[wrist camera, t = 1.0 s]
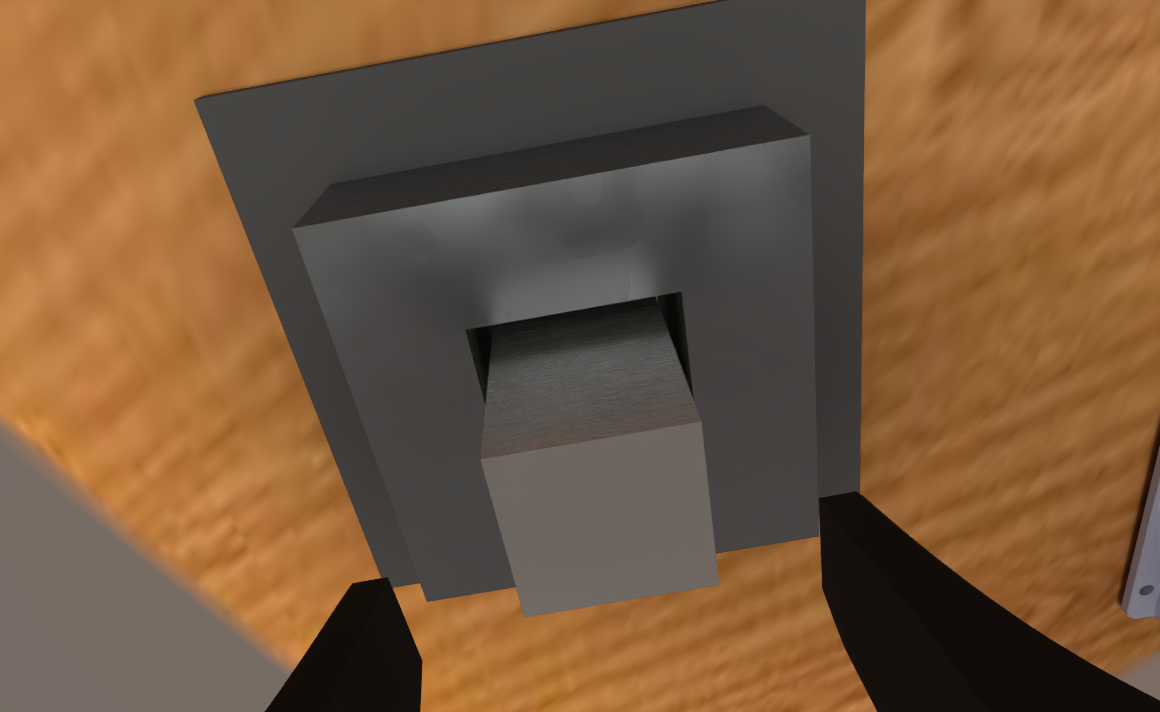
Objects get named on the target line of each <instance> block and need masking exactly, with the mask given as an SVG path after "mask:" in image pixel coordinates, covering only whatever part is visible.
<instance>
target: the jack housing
mask: <svg viewBox="0 0 1160 712" xmlns="http://www.w3.org/2000/svg"><path fill="white" fill-rule="evenodd" d="M292 230H293V233H294V236H295V238H296V241H297V244H298V247H299V249H300V252H301V255H302V258H303V261H304V263H305V266H306V269H307V272H308V274H309V277H310V280H311V283H312V285H313V288H314V291H315V294H316V296H317V299H318V302H319V305H320V307H321V310H322V313H323V316H324V319H325V321H326V324H327V327H328V330H329V332H330V335H331V338H332V341H333V343H334V346H335V349H336V352H337V354H338V357H339V360H340V363H341V366H342V368H343V371H344V374H345V377H346V379H347V382H348V385H349V388H350V390H351V393H352V396H353V399H354V401H355V404H356V407H357V410H358V412H359V415H360V418H361V421H362V424H363V426H364V429H365V432H366V435H367V437H368V440H369V443H370V446H371V448H372V451H373V454H374V457H375V459H376V462H377V465H378V468H379V470H380V473H381V476H382V479H383V482H384V484H385V487H386V490H387V493H388V495H389V498H390V501H391V504H392V506H393V509H394V512H395V515H396V517H397V520H398V523H399V526H400V528H401V531H402V534H403V537H404V540H405V542H406V545H407V548H408V551H409V553H410V556H411V559H412V562H413V564H414V567H415V570H416V573H417V575H418V578H419V581H420V584H421V587H422V589H423V592H424V595H425V598H426V600H427V602H429V601H435V600H441V599H447V598H453V597H459V596H465V595H471V594H477V593H483V592H489V591H495V590H501V589H507V588H513V587H516V585H515V581H514V578H513V574H512V570H511V567H510V563H509V560H508V556H507V553H506V549H505V546H504V542H503V538H502V535H501V531H500V528H499V524H498V521H497V517H496V514H495V510H494V506H493V503H492V499H491V496H490V492H489V489H488V485H487V482H486V478H485V474H484V471H483V467H482V464H481V460H480V458H481V448H482V437H483V427H484V417H485V406H486V396H487V386H488V375H489V365H490V355H491V345H492V340H491V336H490V332H489V328H488V326H489V325H495V324H501V323H506V322H512V321H518V320H523V319H529V318H535V317H540V316H546V315H552V314H557V313H563V312H569V311H574V310H580V309H586V308H591V307H597V306H603V305H608V304H614V303H620V302H625V301H631V300H637V299H642V298H648V297H654V296H659V295H665V297H666V306H667V314H668V322H669V330H670V337H671V340H672V343H673V346H674V348H675V351H676V354H677V356H678V359H679V362H680V365H681V367H682V370H683V373H684V375H685V378H686V381H687V384H688V386H689V389H690V392H691V394H692V397H693V400H694V403H695V405H696V408H697V411H698V413H699V416H700V419H701V422H702V431H703V440H704V450H705V459H706V468H707V478H708V487H709V496H710V506H711V515H712V524H713V534H714V543H715V552H716V553H722V552H728V551H734V550H740V549H746V548H752V547H758V546H764V545H770V544H776V543H782V542H788V541H794V540H800V539H806V538H812V537H818V536H819V524H818V477H817V430H816V383H815V335H814V288H813V241H812V194H811V146H810V134H808V133H807V132H805V131H804V130H802V129H800V128H799V127H797V126H796V125H794V124H793V123H791V122H790V121H788V120H787V119H785V118H783V117H782V116H780V115H779V114H777V113H776V112H774V111H773V110H771V109H769V108H768V107H766V106H765V105H762V106H756V107H751V108H745V109H740V110H734V111H729V112H723V113H718V114H712V115H707V116H701V117H696V118H690V119H685V120H679V121H674V122H668V123H663V124H658V125H652V126H647V127H641V128H636V129H630V130H625V131H619V132H614V133H608V134H603V135H597V136H592V137H586V138H581V139H575V140H570V141H564V142H559V143H553V144H548V145H542V146H537V147H531V148H526V149H520V150H515V151H509V152H504V153H499V154H493V155H488V156H482V157H477V158H471V159H466V160H460V161H455V162H449V163H444V164H438V165H433V166H427V167H422V168H416V169H411V170H405V171H400V172H394V173H389V174H383V175H378V176H372V177H367V178H361V179H356V180H350V181H345V182H340V183H334V184H330V185H329V186H328V188H327V189H326V190H325V191H324V192H323V193H322V194H321V196H320V197H319V198H318V199H317V200H316V201H315V203H314V204H313V205H312V206H311V207H310V208H309V210H308V211H307V212H306V213H305V214H304V215H303V216H302V218H301V219H300V220H299V221H298V222H297V223H296V225H295V226H294V227H293V228H292Z"/></svg>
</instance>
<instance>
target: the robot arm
mask: <svg viewBox="0 0 1160 712" xmlns="http://www.w3.org/2000/svg"><path fill="white" fill-rule="evenodd" d="M819 514H820V539H821V565H822V589H823V592H824V594H825V597H826V600H827V603H828V605H829V608H830V611H831V613H832V616H833V619H834V622H835V624H836V627H837V629H838V632H839V634H840V637H841V640H842V642H843V645H844V647H845V649H846V651H847V653H848V655H849V657H850V659H851V661H852V663H853V665H854V667H855V669H856V671H857V673H858V675H859V677H860V679H861V681H862V683H863V685H864V687H865V689H866V691H867V693H868V695H869V696H870V698H871V700H872V702H873V704H874V706H875V708H876V710H877V712H1160V701H1159V700H1158V699H1156V698H1154V697H1152V696H1150V695H1148V694H1146V693H1144V692H1142V691H1140V690H1138V689H1137V688H1135V687H1133V686H1131V685H1129V684H1127V683H1125V682H1123V681H1121V680H1119V679H1117V678H1116V677H1114V676H1112V675H1110V674H1108V673H1107V672H1105V671H1103V670H1101V669H1100V668H1098V667H1096V666H1094V665H1092V664H1091V663H1089V662H1087V661H1086V660H1084V659H1082V658H1081V657H1079V656H1077V655H1076V654H1074V653H1072V652H1071V651H1069V650H1067V649H1066V648H1064V647H1062V646H1061V645H1059V644H1058V643H1056V642H1054V641H1053V640H1051V639H1049V638H1048V637H1046V636H1045V635H1043V634H1042V633H1040V632H1039V631H1037V630H1035V629H1034V628H1032V627H1031V626H1029V625H1028V624H1026V623H1025V622H1023V621H1022V620H1020V619H1019V618H1018V617H1016V616H1015V615H1013V614H1012V613H1010V612H1009V611H1007V610H1006V609H1005V608H1003V607H1002V606H1000V605H999V604H997V603H996V602H995V601H993V600H992V599H990V598H989V597H988V596H986V595H985V594H983V593H982V592H981V591H979V590H978V589H977V588H975V587H974V586H973V585H971V584H970V583H968V582H967V581H966V580H965V579H963V578H962V577H961V576H959V575H958V574H957V573H956V572H954V571H953V570H952V569H950V568H949V567H948V566H946V565H945V564H944V563H943V562H941V561H940V560H939V559H937V558H936V557H935V556H934V555H932V554H931V553H930V552H929V551H927V550H926V549H925V548H924V547H922V546H921V545H920V544H919V543H918V542H916V541H915V540H914V539H913V538H912V537H910V536H909V535H908V534H907V533H906V532H904V531H903V530H902V529H901V528H900V527H898V526H897V525H896V524H895V523H894V522H893V521H891V520H890V519H889V518H888V517H887V516H886V515H884V514H883V513H882V512H881V511H880V510H879V509H877V508H876V507H875V506H874V505H873V504H872V503H871V502H869V501H868V500H867V499H866V498H865V497H864V496H862V495H861V494H860V493H858V492H857V491H854V492H849V493H843V494H838V495H832V496H827V497H821V498H819ZM1122 609H1123V611H1124V612H1125V613H1126V614H1127V615H1128V616H1129V617H1130V618H1134V619H1137V618H1145V617H1151V616H1156V618H1157V619H1158V620H1159V621H1160V447H1159V451H1158V455H1157V459H1156V464H1155V468H1154V472H1153V476H1152V480H1151V484H1150V489H1149V493H1148V497H1147V501H1146V505H1145V509H1144V513H1143V518H1142V522H1141V526H1140V530H1139V534H1138V538H1137V543H1136V547H1135V551H1134V555H1133V559H1132V563H1131V567H1130V572H1129V576H1128V580H1127V584H1126V588H1125V592H1124V597H1123V601H1122ZM421 683H422V659H421V656H420V654H419V652H418V649H417V647H416V644H415V642H414V639H413V637H412V634H411V632H410V630H409V627H408V625H407V622H406V620H405V617H404V615H403V613H402V610H401V608H400V605H399V603H398V600H397V598H396V596H395V593H394V591H393V588H392V586H391V583H390V581H389V579H388V577H385V578H380V579H374V580H369V581H363V582H358V583H352V585H351V586H350V587H349V589H348V590H347V592H346V593H345V595H344V596H343V598H342V599H341V600H340V602H339V603H338V605H337V606H336V608H335V610H334V611H333V613H332V614H331V616H330V617H329V619H328V620H327V622H326V623H325V625H324V626H323V628H322V629H321V631H320V632H319V634H318V635H317V637H316V638H315V640H314V641H313V643H312V644H311V646H310V647H309V649H308V650H307V652H306V653H305V655H304V656H303V658H302V659H301V661H300V662H299V664H298V665H297V667H296V668H295V669H294V671H293V672H292V674H291V675H290V677H289V678H288V680H287V681H286V682H285V684H284V685H283V687H282V688H281V690H280V691H279V693H278V694H277V695H276V697H275V698H274V700H273V701H272V702H271V704H270V705H269V707H268V708H267V709H266V711H265V712H420V705H421Z"/></svg>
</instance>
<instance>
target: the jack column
mask: <svg viewBox="0 0 1160 712" xmlns="http://www.w3.org/2000/svg"><path fill="white" fill-rule="evenodd" d="M480 460H481V464H482V467H483V471H484V474H485V478H486V482H487V485H488V489H489V492H490V496H491V499H492V503H493V506H494V510H495V514H496V517H497V521H498V524H499V528H500V531H501V535H502V538H503V542H504V546H505V549H506V553H507V556H508V560H509V563H510V567H511V570H512V574H513V578H514V581H515V585H516V588H517V592H518V595H519V599H520V602H521V606H522V610H523V613H524V617H529V616H535V615H541V614H547V613H553V612H560V611H566V610H572V609H578V608H584V607H590V606H596V605H602V604H608V603H614V602H620V601H626V600H632V599H638V598H644V597H650V596H656V595H662V594H668V593H674V592H680V591H686V590H692V589H698V588H704V587H710V586H716V585H719V580H718V571H717V562H716V552H715V543H714V534H713V524H712V515H711V506H710V496H709V487H708V478H707V468H706V459H705V450H704V440H703V431H702V422H701V419H700V416H699V413H698V411H697V408H696V405H695V403H694V400H693V397H692V394H691V392H690V389H689V386H688V384H687V381H686V378H685V375H684V373H683V370H682V367H681V365H680V362H679V359H678V356H677V354H676V351H675V348H674V346H673V343H672V340H671V337H670V335H669V332H668V329H667V326H666V324H665V321H664V318H663V316H662V313H661V310H660V307H659V305H658V299H657V296H654V297H648V298H642V299H637V300H631V301H625V302H620V303H614V304H608V305H603V306H597V307H591V308H586V309H580V310H574V311H569V312H563V313H557V314H552V315H546V316H540V317H535V318H529V319H523V320H518V321H512V322H506V323H501V324H495V325H493V334H492V345H491V355H490V365H489V375H488V386H487V396H486V406H485V417H484V427H483V437H482V448H481V458H480Z"/></svg>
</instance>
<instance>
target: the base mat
mask: <svg viewBox="0 0 1160 712" xmlns="http://www.w3.org/2000/svg"><path fill="white" fill-rule="evenodd" d="M865 6H866V0H718V1H712V2H707V3H702V4H696V5H691V6H686V7H680V8H675V9H669V10H664V11H659V12H653V13H648V14H643V15H637V16H632V17H626V18H621V19H616V20H610V21H605V22H600V23H594V24H589V25H584V26H578V27H573V28H567V29H562V30H557V31H551V32H546V33H541V34H535V35H530V36H524V37H519V38H514V39H508V40H503V41H498V42H492V43H487V44H482V45H476V46H471V47H465V48H460V49H455V50H449V51H444V52H439V53H433V54H428V55H422V56H417V57H412V58H406V59H401V60H396V61H390V62H385V63H379V64H374V65H369V66H363V67H358V68H353V69H347V70H342V71H337V72H331V73H326V74H320V75H315V76H310V77H304V78H299V79H294V80H288V81H283V82H277V83H272V84H267V85H261V86H256V87H251V88H245V89H240V90H235V91H229V92H224V93H218V94H213V95H208V96H202V97H200V98H197V99H195V100H194V102H195V105H196V107H197V110H198V113H199V115H200V118H201V120H202V123H203V125H204V128H205V130H206V133H207V135H208V138H209V141H210V143H211V146H212V148H213V151H214V153H215V156H216V158H217V161H218V163H219V166H220V169H221V171H222V174H223V176H224V179H225V181H226V184H227V186H228V189H229V191H230V194H231V196H232V199H233V202H234V204H235V207H236V209H237V212H238V214H239V217H240V219H241V222H242V224H243V227H244V230H245V232H246V235H247V237H248V240H249V242H250V245H251V247H252V250H253V252H254V255H255V258H256V260H257V263H258V265H259V268H260V270H261V273H262V275H263V278H264V280H265V283H266V285H267V288H268V291H269V293H270V296H271V298H272V301H273V303H274V306H275V308H276V311H277V313H278V316H279V319H280V321H281V324H282V326H283V329H284V331H285V334H286V336H287V339H288V341H289V344H290V346H291V349H292V352H293V354H294V357H295V359H296V362H297V364H298V367H299V369H300V372H301V374H302V377H303V380H304V382H305V385H306V387H307V390H308V392H309V395H310V397H311V400H312V402H313V405H314V408H315V410H316V413H317V415H318V418H319V420H320V423H321V425H322V428H323V430H324V433H325V435H326V438H327V441H328V443H329V446H330V448H331V451H332V453H333V456H334V458H335V461H336V463H337V466H338V469H339V471H340V474H341V476H342V479H343V481H344V484H345V486H346V489H347V491H348V494H349V497H350V499H351V502H352V504H353V507H354V509H355V512H356V514H357V517H358V519H359V522H360V524H361V527H362V530H363V532H364V535H365V537H366V540H367V542H368V545H369V547H370V550H371V552H372V555H373V558H374V560H375V563H376V565H377V568H378V570H379V573H380V575H381V578H385V577H388V579H389V581H390V583H391V586H392V588H394V587H399V586H405V585H411V584H417V583H420V581H419V578H418V575H417V573H416V570H415V567H414V564H413V562H412V559H411V556H410V553H409V551H408V548H407V545H406V542H405V540H404V537H403V534H402V531H401V528H400V526H399V523H398V520H397V517H396V515H395V512H394V509H393V506H392V504H391V501H390V498H389V495H388V493H387V490H386V487H385V484H384V482H383V479H382V476H381V473H380V470H379V468H378V465H377V462H376V459H375V457H374V454H373V451H372V448H371V446H370V443H369V440H368V437H367V435H366V432H365V429H364V426H363V424H362V421H361V418H360V415H359V412H358V410H357V407H356V404H355V401H354V399H353V396H352V393H351V390H350V388H349V385H348V382H347V379H346V377H345V374H344V371H343V368H342V366H341V363H340V360H339V357H338V354H337V352H336V349H335V346H334V343H333V341H332V338H331V335H330V332H329V330H328V327H327V324H326V321H325V319H324V316H323V313H322V310H321V307H320V305H319V302H318V299H317V296H316V294H315V291H314V288H313V285H312V283H311V280H310V277H309V274H308V272H307V269H306V266H305V263H304V261H303V258H302V255H301V252H300V249H299V247H298V244H297V241H296V238H295V236H294V233H293V230H292V228H293V227H294V226H295V225H296V223H297V222H298V221H299V220H300V219H301V218H302V216H303V215H304V214H305V213H306V212H307V211H308V210H309V208H310V207H311V206H312V205H313V204H314V203H315V201H316V200H317V199H318V198H319V197H320V196H321V194H322V193H323V192H324V191H325V190H326V189H327V188H328V186H329V185H330V184H334V183H340V182H345V181H350V180H356V179H361V178H367V177H372V176H378V175H383V174H389V173H394V172H400V171H405V170H411V169H416V168H422V167H427V166H433V165H438V164H444V163H449V162H455V161H460V160H466V159H471V158H477V157H482V156H488V155H493V154H499V153H504V152H509V151H515V150H520V149H526V148H531V147H537V146H542V145H548V144H553V143H559V142H564V141H570V140H575V139H581V138H586V137H592V136H597V135H603V134H608V133H614V132H619V131H625V130H630V129H636V128H641V127H647V126H652V125H658V124H663V123H668V122H674V121H679V120H685V119H690V118H696V117H701V116H707V115H712V114H718V113H723V112H729V111H734V110H740V109H745V108H751V107H756V106H762V105H765V106H766V107H768V108H769V109H771V110H773V111H774V112H776V113H777V114H779V115H780V116H782V117H783V118H785V119H787V120H788V121H790V122H791V123H793V124H794V125H796V126H797V127H799V128H800V129H802V130H804V131H805V132H807V133H808V134H810V146H811V194H812V241H813V288H814V335H815V383H816V430H817V477H818V516H820V514H819V498H821V497H827V496H832V495H838V494H843V493H849V492H854V491H857V492H858V493H860V423H861V340H862V256H863V173H864V89H865ZM657 299H658V305H659V307H660V310H661V313H662V316H663V318H664V321H665V324H666V326H667V329H668V332H669V335H670V330H669V322H668V314H667V306H666V297H665V295H659V296H657ZM488 328H489V332H490V336H491V340H492V334H493V325H489V326H488Z"/></svg>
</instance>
